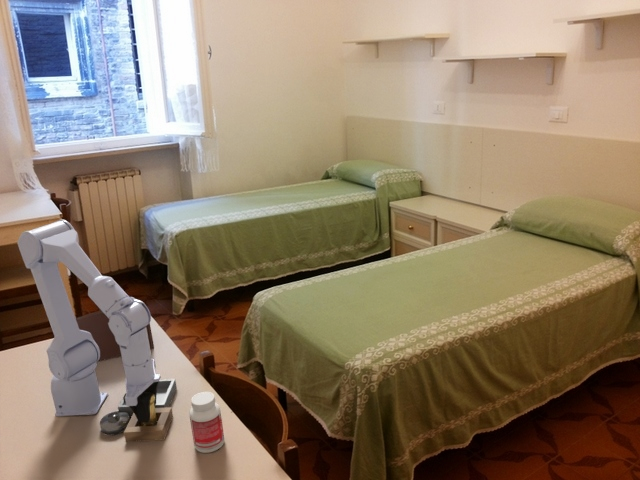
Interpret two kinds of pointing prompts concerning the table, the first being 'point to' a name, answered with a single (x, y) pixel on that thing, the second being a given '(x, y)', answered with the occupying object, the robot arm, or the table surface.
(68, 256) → the robot arm
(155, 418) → the lock pin
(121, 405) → the tray
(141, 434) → the block
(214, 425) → the pill bottle
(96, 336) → the letter holder
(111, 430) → the pulley
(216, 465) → the table surface
